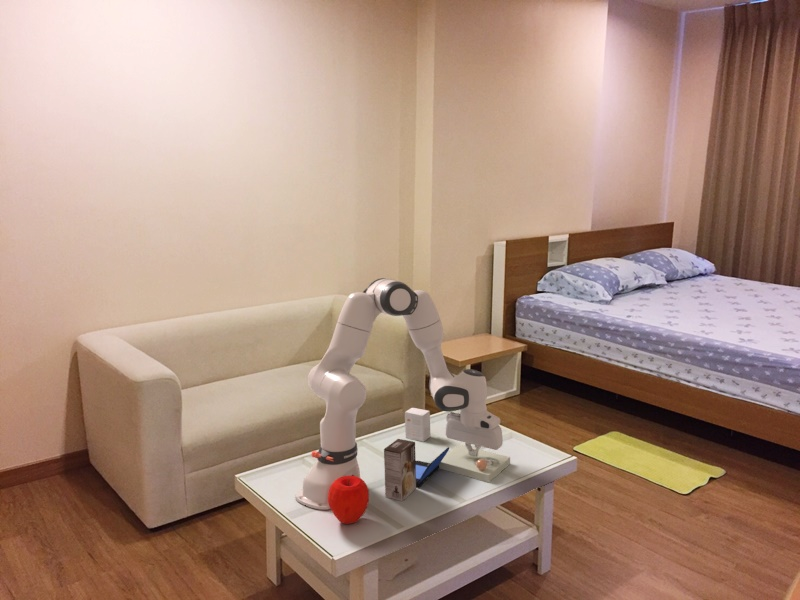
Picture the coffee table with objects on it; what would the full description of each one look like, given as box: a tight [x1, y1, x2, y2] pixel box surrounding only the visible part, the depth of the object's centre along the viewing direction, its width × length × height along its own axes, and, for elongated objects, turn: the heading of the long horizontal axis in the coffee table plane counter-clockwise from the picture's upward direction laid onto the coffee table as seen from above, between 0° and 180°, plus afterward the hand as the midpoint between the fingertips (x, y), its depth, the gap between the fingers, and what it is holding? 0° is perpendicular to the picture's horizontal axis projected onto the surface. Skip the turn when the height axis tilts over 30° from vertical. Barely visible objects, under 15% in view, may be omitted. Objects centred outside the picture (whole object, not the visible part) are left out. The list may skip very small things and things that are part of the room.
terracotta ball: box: [476, 459, 487, 470], centre depth 210 cm, size 4×4×4 cm
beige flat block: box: [438, 443, 511, 483], centre depth 218 cm, size 16×20×2 cm
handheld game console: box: [416, 446, 450, 489], centre depth 210 cm, size 16×13×9 cm
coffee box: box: [383, 438, 417, 502], centre depth 199 cm, size 9×6×16 cm
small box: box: [404, 407, 431, 442], centre depth 242 cm, size 8×6×10 cm
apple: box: [328, 476, 370, 525], centre depth 183 cm, size 12×12×13 cm
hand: (473, 455), depth 218 cm, fingers closed
